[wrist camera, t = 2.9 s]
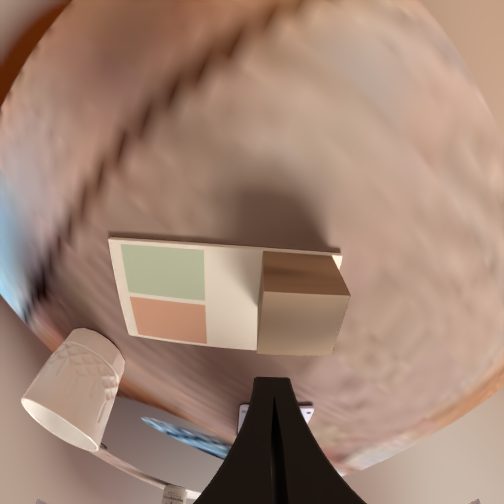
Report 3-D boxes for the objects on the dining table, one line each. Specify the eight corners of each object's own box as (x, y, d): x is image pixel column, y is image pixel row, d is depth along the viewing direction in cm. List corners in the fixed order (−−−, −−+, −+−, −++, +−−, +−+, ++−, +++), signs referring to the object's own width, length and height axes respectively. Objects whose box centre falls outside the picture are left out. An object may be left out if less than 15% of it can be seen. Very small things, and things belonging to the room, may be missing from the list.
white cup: (55, 333, 23) (12, 399, 14) (90, 312, 21) (36, 395, 12) (103, 380, 26) (73, 448, 17) (145, 368, 24) (115, 453, 15)
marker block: (318, 310, 19) (330, 355, 15) (257, 307, 19) (256, 353, 15) (331, 255, 17) (350, 295, 13) (263, 250, 17) (263, 291, 13)
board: (315, 348, 22) (316, 352, 21) (130, 332, 22) (128, 335, 21) (341, 253, 18) (342, 255, 17) (110, 237, 18) (108, 239, 17)
